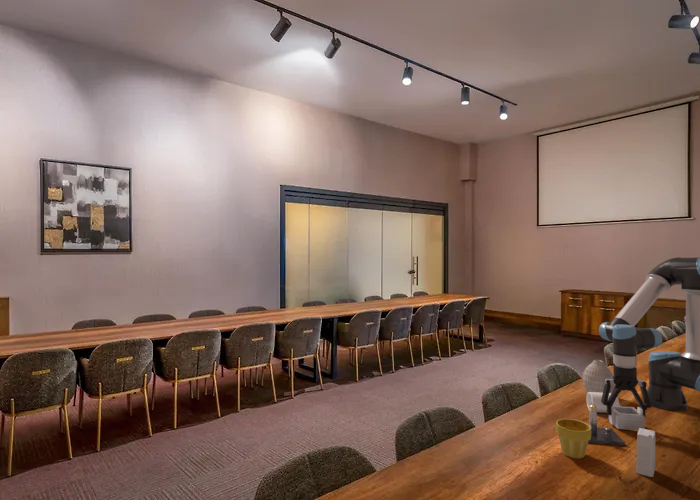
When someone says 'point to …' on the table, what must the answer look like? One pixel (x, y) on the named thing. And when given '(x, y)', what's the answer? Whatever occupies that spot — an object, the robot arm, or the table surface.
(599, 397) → the mug
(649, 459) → the skincare box
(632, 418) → the link
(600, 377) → the vase
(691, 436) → the table surface
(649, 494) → the table surface
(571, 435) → the plant pot
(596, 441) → the keeper
